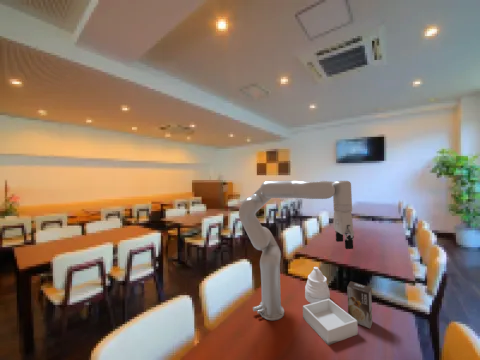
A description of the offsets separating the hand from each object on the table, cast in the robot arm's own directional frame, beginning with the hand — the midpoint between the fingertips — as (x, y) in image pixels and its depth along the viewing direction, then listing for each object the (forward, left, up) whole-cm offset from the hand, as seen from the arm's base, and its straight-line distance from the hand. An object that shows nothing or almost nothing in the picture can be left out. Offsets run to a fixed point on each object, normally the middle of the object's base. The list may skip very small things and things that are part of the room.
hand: (344, 244), depth 92 cm
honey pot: (+1, +20, -37) cm, 42 cm away
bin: (-8, +1, -37) cm, 37 cm away
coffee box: (+8, -1, -37) cm, 38 cm away
